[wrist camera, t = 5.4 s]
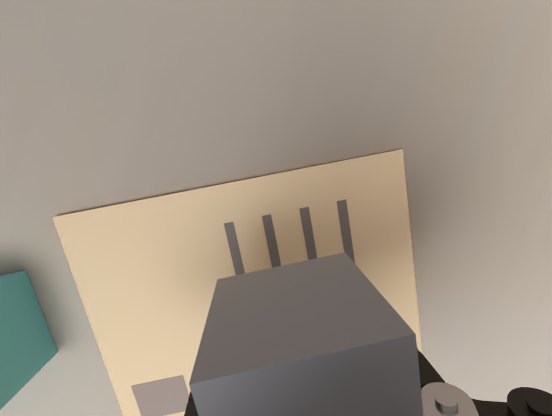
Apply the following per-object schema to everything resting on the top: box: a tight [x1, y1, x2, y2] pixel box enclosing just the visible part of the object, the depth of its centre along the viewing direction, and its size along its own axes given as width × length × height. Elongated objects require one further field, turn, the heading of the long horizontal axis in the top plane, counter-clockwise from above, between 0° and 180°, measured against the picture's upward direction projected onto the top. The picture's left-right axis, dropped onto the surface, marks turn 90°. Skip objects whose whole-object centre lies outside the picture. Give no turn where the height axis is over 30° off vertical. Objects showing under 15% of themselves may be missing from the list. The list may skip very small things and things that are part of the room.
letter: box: [52, 149, 422, 416], centre depth 16 cm, size 14×18×1 cm
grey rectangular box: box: [189, 252, 424, 416], centre depth 9 cm, size 7×5×5 cm
